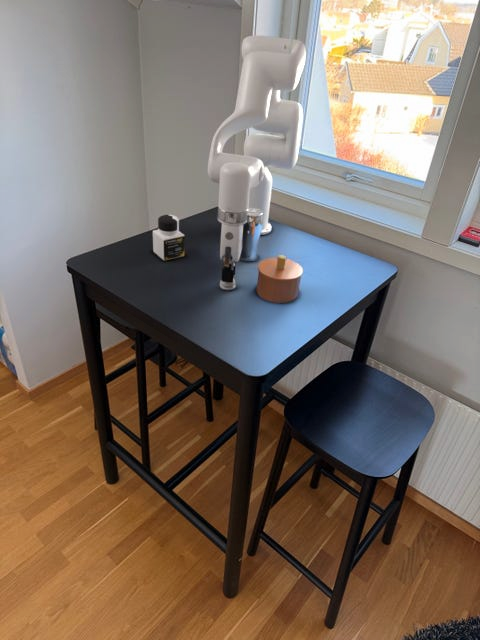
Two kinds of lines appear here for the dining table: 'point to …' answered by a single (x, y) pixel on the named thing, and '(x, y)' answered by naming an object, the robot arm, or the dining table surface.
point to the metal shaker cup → (251, 234)
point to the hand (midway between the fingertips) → (228, 277)
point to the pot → (277, 289)
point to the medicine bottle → (168, 238)
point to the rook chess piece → (228, 284)
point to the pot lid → (280, 268)
